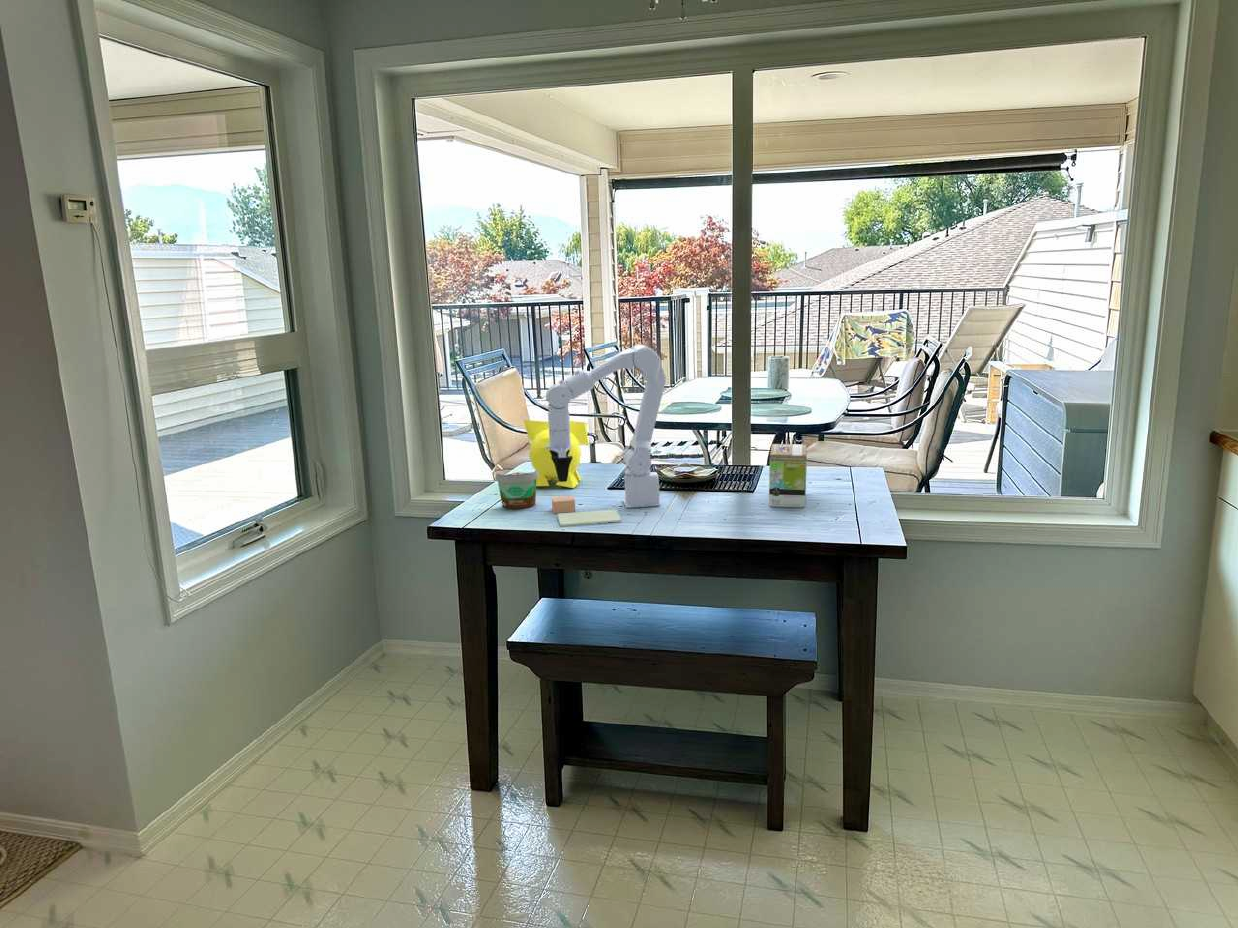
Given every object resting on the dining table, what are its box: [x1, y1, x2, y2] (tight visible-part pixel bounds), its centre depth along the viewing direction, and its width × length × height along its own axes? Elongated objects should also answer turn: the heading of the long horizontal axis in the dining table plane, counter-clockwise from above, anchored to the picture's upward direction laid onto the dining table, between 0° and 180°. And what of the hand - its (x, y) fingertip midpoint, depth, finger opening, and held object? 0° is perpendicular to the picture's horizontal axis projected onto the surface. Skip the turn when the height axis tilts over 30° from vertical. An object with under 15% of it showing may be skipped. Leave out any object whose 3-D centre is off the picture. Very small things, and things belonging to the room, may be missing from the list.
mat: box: [557, 509, 622, 528], centre depth 233 cm, size 16×10×1 cm, turn 97°
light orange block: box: [551, 495, 576, 514], centre depth 242 cm, size 6×4×4 cm
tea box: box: [768, 443, 808, 508], centre depth 242 cm, size 15×10×15 cm, turn 168°
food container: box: [494, 469, 539, 511], centre depth 245 cm, size 12×6×10 cm, turn 101°
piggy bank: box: [523, 419, 589, 489], centre depth 271 cm, size 20×20×19 cm
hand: (561, 478), depth 240 cm, fingers open, 7 cm apart
